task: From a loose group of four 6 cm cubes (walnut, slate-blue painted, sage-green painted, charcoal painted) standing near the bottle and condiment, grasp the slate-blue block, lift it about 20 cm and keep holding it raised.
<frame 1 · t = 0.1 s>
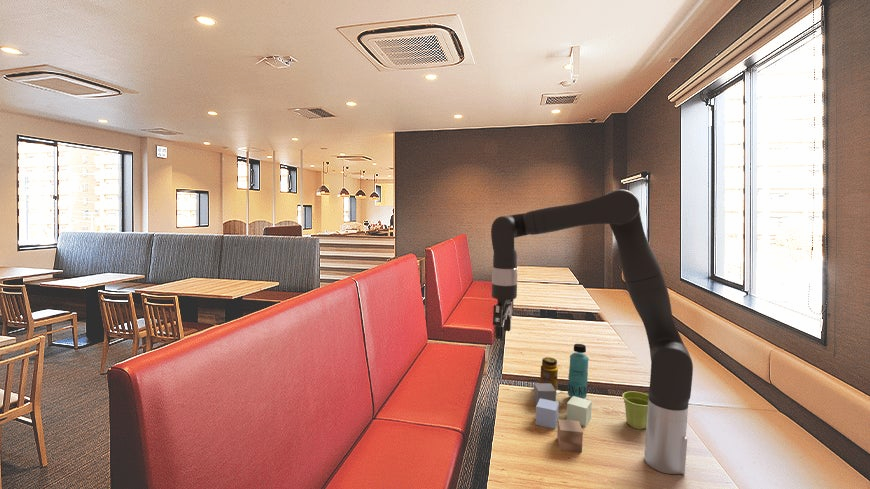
hand: (503, 334, 127), 29 cm above the table, fingers open, 8 cm apart
beverage bottle: (577, 400, 147), on the table
slate blue block: (546, 422, 132), on the table
plant pot: (637, 424, 131), on the table
walnut block: (569, 445, 119), on the table
charcoal block: (544, 403, 144), on the table
condiment: (546, 391, 153), on the table
sage block: (578, 419, 133), on the table
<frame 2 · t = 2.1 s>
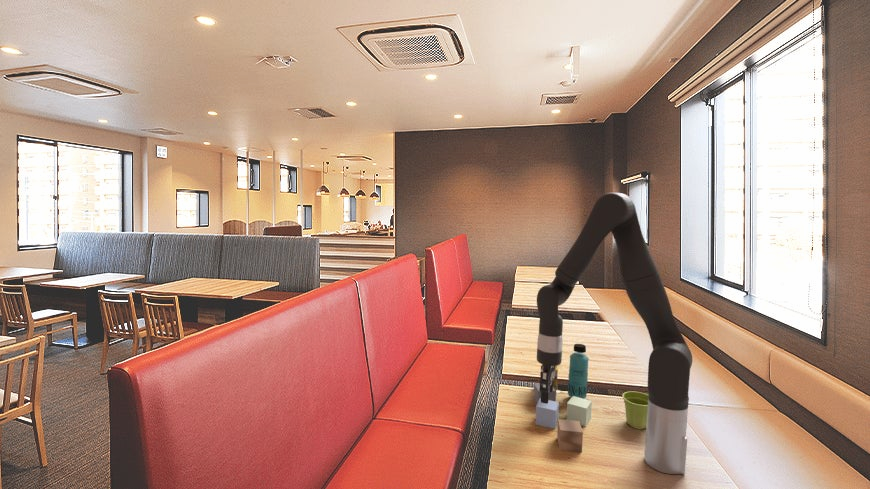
hand: (546, 396, 131), 8 cm above the table, fingers open, 8 cm apart
nothing on the table moved.
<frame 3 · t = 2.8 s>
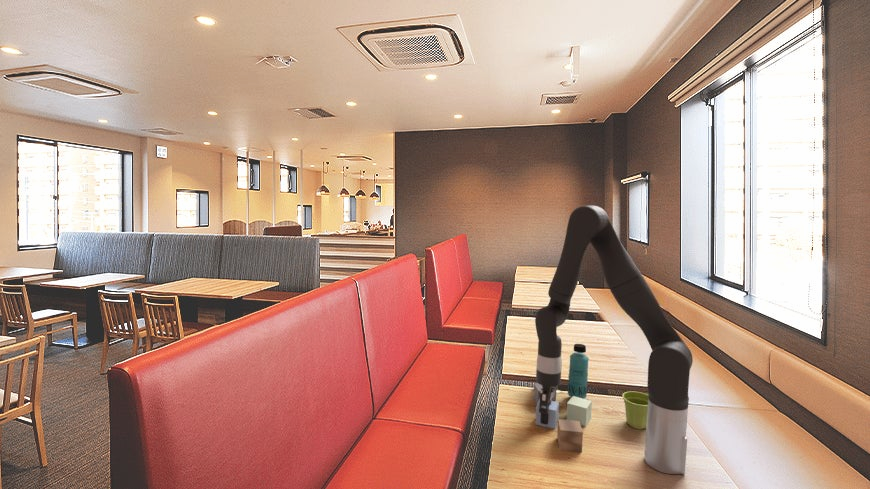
hand: (546, 417, 132), 2 cm above the table, fingers open, 8 cm apart
nothing on the table moved.
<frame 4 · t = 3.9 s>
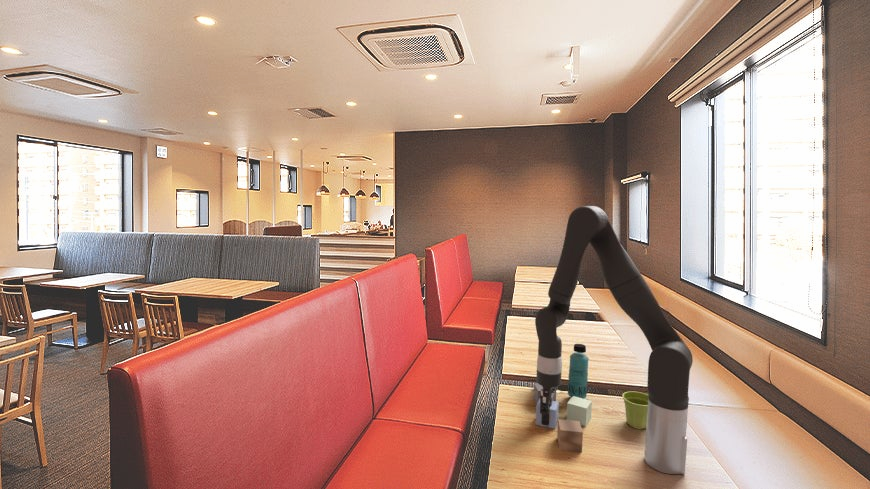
hand: (547, 419, 132), 1 cm above the table, fingers closed on slate blue block, 6 cm apart
slate blue block: (547, 422, 132), on the table, touching gripper
everything else where it was.
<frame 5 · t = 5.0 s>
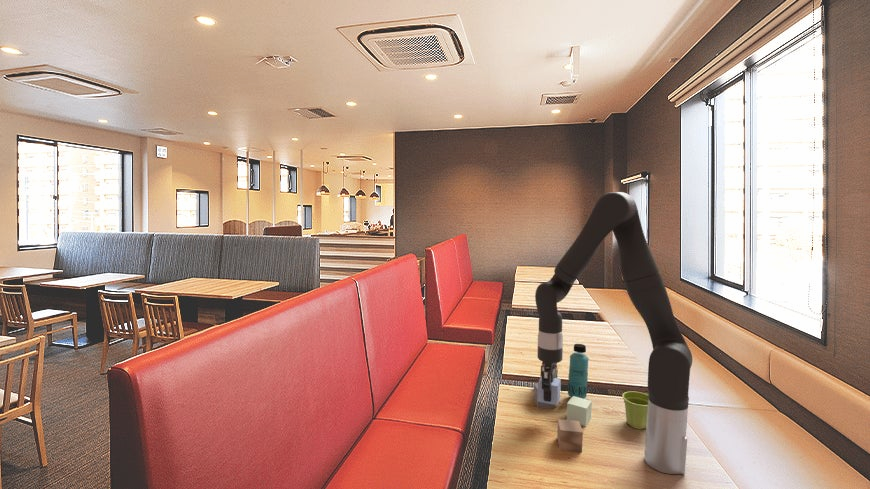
hand: (549, 396, 131), 9 cm above the table, fingers closed on slate blue block, 6 cm apart
slate blue block: (549, 399, 131), point 8 cm above the table, touching gripper
everything else where it was.
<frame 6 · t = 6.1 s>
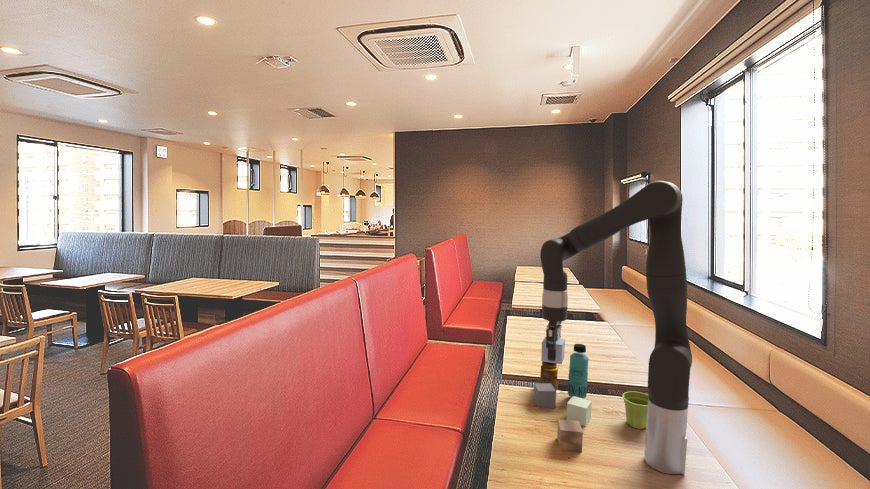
hand: (553, 356, 129), 22 cm above the table, fingers closed on slate blue block, 6 cm apart
slate blue block: (552, 359, 129), point 21 cm above the table, touching gripper
everything else where it was.
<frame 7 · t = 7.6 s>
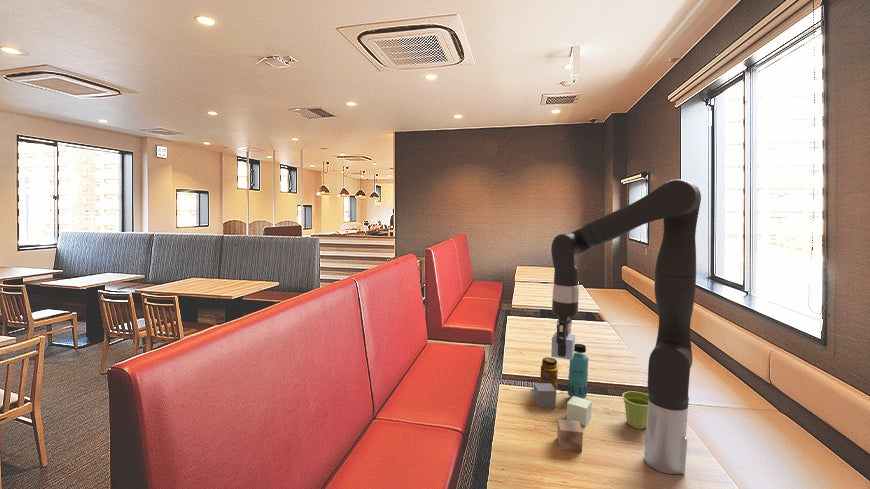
hand: (563, 352, 128), 24 cm above the table, fingers closed on slate blue block, 6 cm apart
slate blue block: (562, 355, 128), point 23 cm above the table, touching gripper
everything else where it was.
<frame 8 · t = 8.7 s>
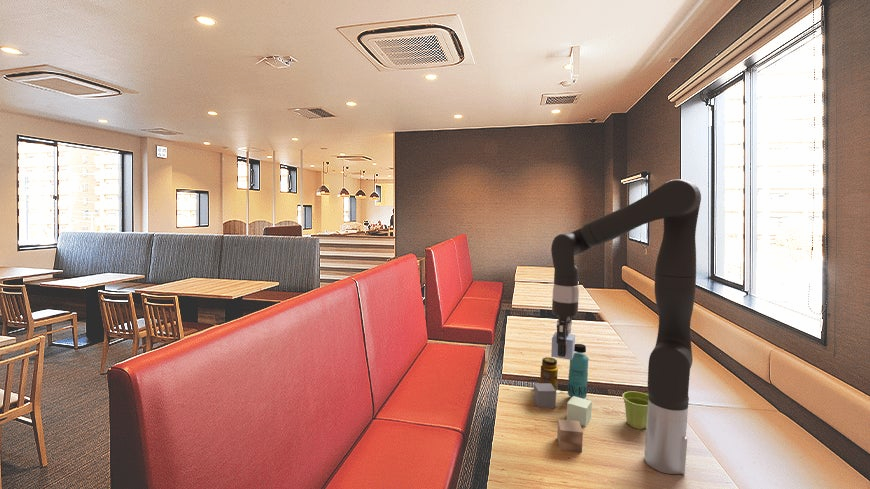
hand: (563, 352, 128), 24 cm above the table, fingers closed on slate blue block, 6 cm apart
slate blue block: (562, 355, 128), point 23 cm above the table, touching gripper
everything else where it was.
at the end: the gripper is holding slate blue block; slate blue block point 22.6 cm above the table; sage block moved 0.1 cm from its start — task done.
